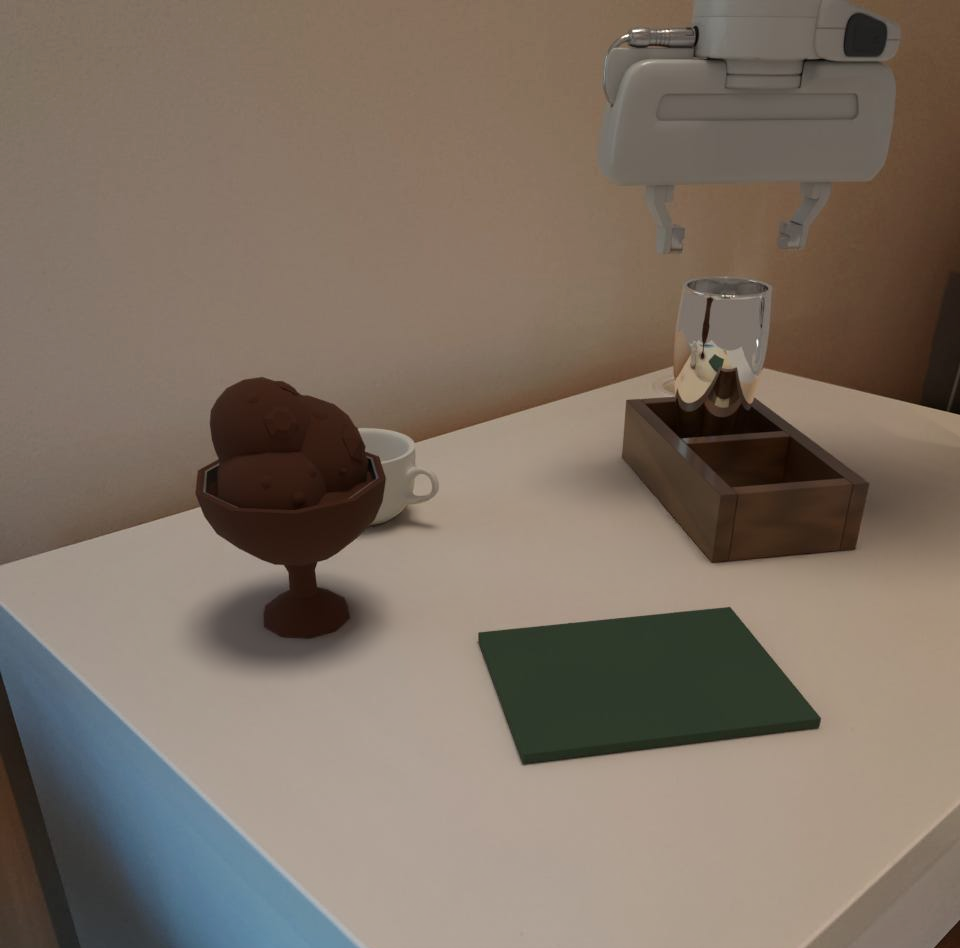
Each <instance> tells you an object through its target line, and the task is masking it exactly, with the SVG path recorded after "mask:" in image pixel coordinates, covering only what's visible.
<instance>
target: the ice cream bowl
mask: <svg viewBox="0 0 960 948" xmlns="http://www.w3.org/2000/svg"><path fill="white" fill-rule="evenodd" d="M209 414H210V415H209V416H210V417H209V429H210V437H211V442H212V445H213V448H214V452H215V455H216V457H217V458H218V459H216V460H214V461H213V462H211V463H208V464H207V465H205V466H204V467H201V468H199V469H198V470H197V472H196V473H197V475H196V483H195V484H196V485H195V493H194V495H195V496H196V499H197V502H198V504H199V507H200V509H201V512H202V515H203V517H204V518H205V519H206V521H207V522H208V524H209V525H210V526H211V528H212V529H213V531H214V532H215V533H216V535H217V536H219V537H220V538H222V539H224V540H225V541H227V543H230V544H231V545H232V546H234V547H236V548H237V549H239V550H240V551H242V552H245V553H247V554H249V555H251V556H253V557H254V558H256V559H258V560H261V561H263V562H266V563H269V564H272V565H275V566H284V568H285V569H286V572H287V574H288V585H289V589H288V590H286V591H283V592H281V593H279V594H278V595H277V596H275V597H274V598H272V599H271V600H270V601H269V602H268V603H266V604H265V605H264V608H263V615H262V617H263V627H264V628H265V629H266V630H269V631H271V632H272V633H274V634H276V635H277V636H279V637H282V638H298V639H299V638H300V639H311V638H316V637H319V636H322V635H327V634H330V633H332V632H336V631H338V630H339V629H340V628H341V627H342V626H343V625H344V624H345V623H346V622H347V621H348V620H350V619H351V615H350V610H349V604H348V602H347V600H346V597H344V596H342V595H340V594H339V593H337V592H334V591H332V590H330V589H329V588H328V589H327V588H324V587H320V586H318V581H317V575H316V569H317V566H318V563H319V562H323V561H328V560H329V559H330V558H332V557H333V556H335V555H337V554H338V553H340V552H341V551H343V550H344V549H345V548H347V546H349V545H350V544H352V543H353V542H354V541H355V540H357V539H358V538H359V537H360V536H361V535H362V533H364V531H366V529H367V528H368V527H370V526H371V525H370V524H371V523H372V522H373V521H374V520H375V518H376V516H377V513H378V511H379V509H380V506H381V504H382V502H383V495H384V489H385V482H386V476H385V473H384V470H383V467H382V464H381V461H380V458H379V456H376V455H373V454H371V453H368V452H365V447H366V446H365V444H364V442H363V440H362V437H361V435H360V433H359V431H358V427H357V426H356V425H355V424H354V422H353V420H352V419H351V417H350V416H349V414H348V413H346V412H345V411H344V410H342V408H340V407H339V406H338V405H336V404H335V403H332V402H330V401H327V400H324V399H320V398H318V397H315V396H312V395H309V394H308V395H307V394H306V395H305V394H301V393H300V392H299V391H297V390H296V388H295V387H294V386H292V385H291V384H289V383H287V382H285V381H283V380H273V379H270V378H267V377H263V376H260V377H251V378H245V379H242V380H240V381H238V382H236V383H234V384H232V385H230V386H228V387H226V388H225V389H224V390H223V392H222V393H221V394H220V395H218V397H217V399H216V400H215V402H214V404H213V406H212V407H211V409H210V413H209Z"/></svg>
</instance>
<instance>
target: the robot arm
mask: <svg viewBox="0 0 960 948" xmlns="http://www.w3.org/2000/svg"><path fill="white" fill-rule="evenodd" d="M901 38H902V29H901V26H900V25H899V24H898V23H897V22H896V21H894V20H892V19H890V18H887V17H885V16H882V15H881V14H878V13H876V12H873V11H872V10H868V9H867V8H865V7H862V6H861V5H858V4H856V3H853V2H852V1H850V0H693V6H692V15H691V24H690V27H686V26H685V27H677V26H675V27H665V28H650V27H645V26H644V27H643V26H639V27H633V28H630V29H629V28H628V31H627V33H626V34H623V35H621V36H619V37H618V38H617V39H615V40H614V41H613V42H612V43H611V45H610V46H609V47H608V49H607V50H606V54H605V56H604V62H603V75H602V76H603V78H602V89H603V94H604V96H605V99H606V101H605V102H606V103H605V107H604V110H603V117H602V122H601V128H600V135H599V142H598V150H597V162H596V163H597V164H596V165H597V168H598V170H599V173H601V175H602V176H603V178H604V179H605V180H606V181H607V182H609V183H611V184H613V185H615V186H618V187H640V186H641V187H642V186H643V187H644V196H643V197H644V202H645V204H646V206H647V209H648V210H649V213H650V215H651V217H652V220H653V222H654V224H655V225H656V234H655V245H654V246H655V251H656V252H657V253H659V254H660V255H676V254H677V255H678V254H682V253H683V250H684V243H683V240H684V239H685V233H686V228H685V227H683V226H680V225H679V224H677V223H673V220H672V218H671V214H670V213H669V210H668V208H667V205H666V204H667V203H672V202H673V201H674V196H675V189H676V188H675V186H691V185H692V186H695V185H696V186H697V185H701V186H702V185H740V184H741V185H744V184H746V185H749V184H750V185H751V184H752V185H753V184H795V183H796V184H799V185H798V192H797V194H798V195H799V196H801V197H803V198H802V200H801V201H800V204H799V205H798V206H797V208H796V210H795V211H794V213H793V215H792V217H791V218H790V220H784V221H779V226H778V233H779V235H778V236H777V240H776V245H777V248H778V249H782V250H783V251H804V250H805V248H806V246H807V243H808V237H809V236H808V235H809V230H810V225H812V224H813V223H814V221H815V220H816V219H817V217H818V216H819V214H820V212H822V210H823V209H824V207H825V206H826V204H827V203H828V201H829V200H830V196H831V189H832V183H845V182H846V183H848V182H870V181H872V180H873V179H874V178H875V177H876V176H877V174H879V172H880V171H881V169H883V167H884V166H885V164H886V161H887V157H888V154H889V148H890V143H891V137H892V132H893V127H894V126H893V125H894V118H895V109H896V98H897V97H896V96H897V85H896V79H895V75H894V73H893V70H891V68H890V67H889V66H888V65H887V64H886V63H883V62H887V61H890V60H892V59H893V58H894V57H895V56H896V55H897V54H898V51H899V47H900V43H901ZM624 43H626V44H627V46H628V47H620V46H621V45H623V44H624Z"/></svg>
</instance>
